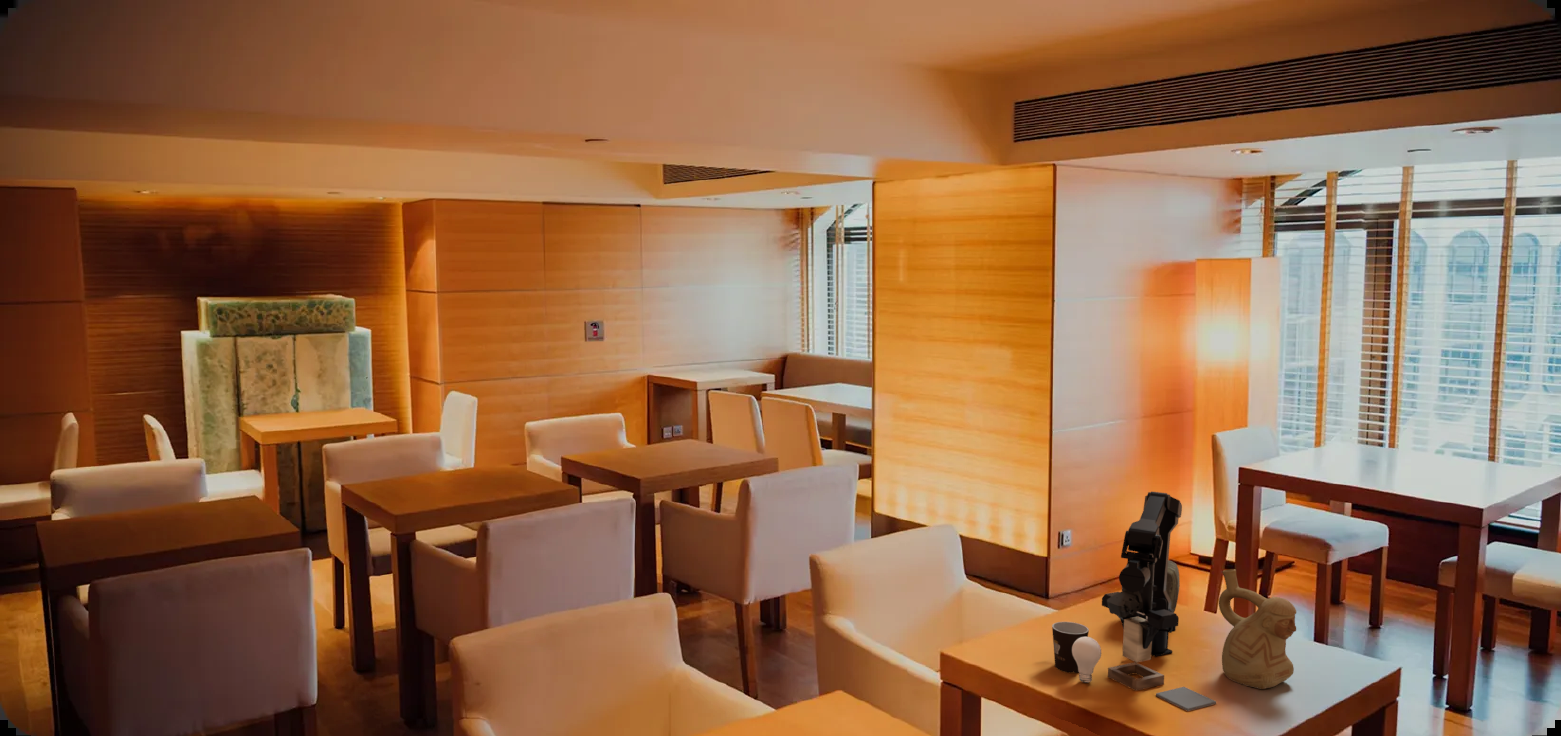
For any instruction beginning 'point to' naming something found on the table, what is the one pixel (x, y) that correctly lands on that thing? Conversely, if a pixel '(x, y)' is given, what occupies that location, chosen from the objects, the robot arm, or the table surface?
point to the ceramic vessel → (1256, 637)
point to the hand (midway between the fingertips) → (1137, 644)
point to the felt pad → (1185, 698)
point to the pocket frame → (1147, 680)
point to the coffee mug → (1066, 644)
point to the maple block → (1135, 641)
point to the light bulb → (1086, 657)
